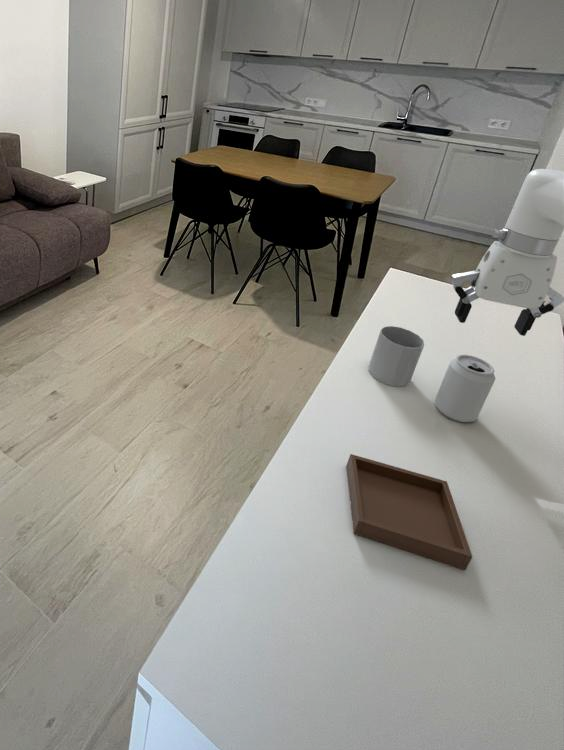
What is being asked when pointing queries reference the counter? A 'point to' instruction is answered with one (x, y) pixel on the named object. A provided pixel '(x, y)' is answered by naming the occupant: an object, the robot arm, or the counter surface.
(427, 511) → the tray
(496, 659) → the counter surface
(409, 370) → the cup
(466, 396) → the can
